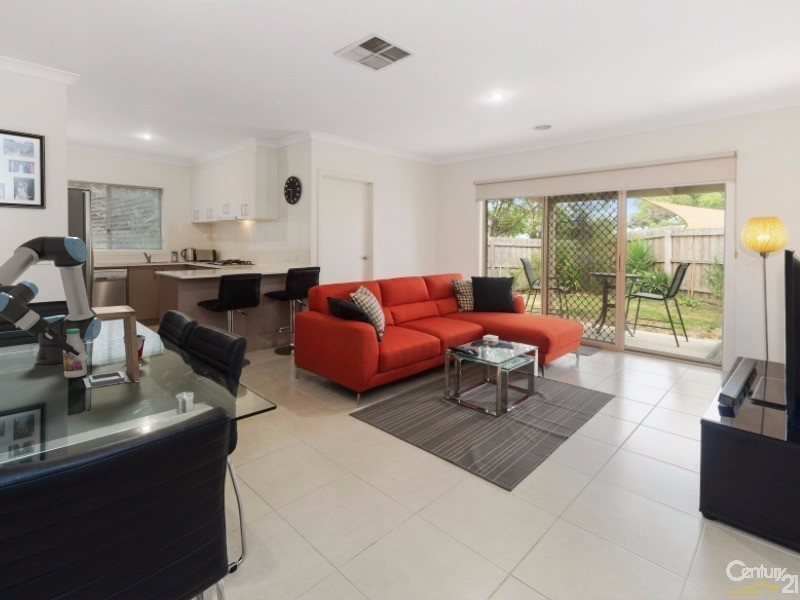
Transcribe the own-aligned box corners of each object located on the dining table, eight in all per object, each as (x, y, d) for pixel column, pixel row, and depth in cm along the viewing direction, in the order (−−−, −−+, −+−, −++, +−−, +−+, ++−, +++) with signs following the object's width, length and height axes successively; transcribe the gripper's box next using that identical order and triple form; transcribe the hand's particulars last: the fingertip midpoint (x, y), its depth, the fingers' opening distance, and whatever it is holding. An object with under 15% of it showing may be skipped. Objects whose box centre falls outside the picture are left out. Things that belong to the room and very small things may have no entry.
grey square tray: (83, 379, 193) (82, 375, 193) (124, 373, 204) (124, 369, 204) (86, 389, 181) (86, 384, 181) (130, 381, 192) (130, 377, 192)
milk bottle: (72, 372, 188) (69, 327, 186) (91, 372, 189) (88, 327, 186) (60, 378, 180) (56, 331, 178) (79, 378, 181) (76, 331, 178)
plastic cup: (136, 361, 224) (135, 339, 222) (118, 360, 226) (117, 337, 224) (152, 356, 234) (151, 334, 233) (135, 355, 236) (134, 333, 235)
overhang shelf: (96, 376, 198) (91, 307, 194) (131, 371, 207) (127, 305, 203) (101, 388, 183) (96, 313, 179) (139, 381, 192) (135, 310, 188)
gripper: (24, 326, 180) (75, 358, 192) (24, 335, 164) (79, 369, 177) (40, 313, 182) (89, 345, 195) (41, 320, 167) (94, 355, 180)
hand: (84, 356), depth 186 cm, fingers closed on milk bottle, 7 cm apart
